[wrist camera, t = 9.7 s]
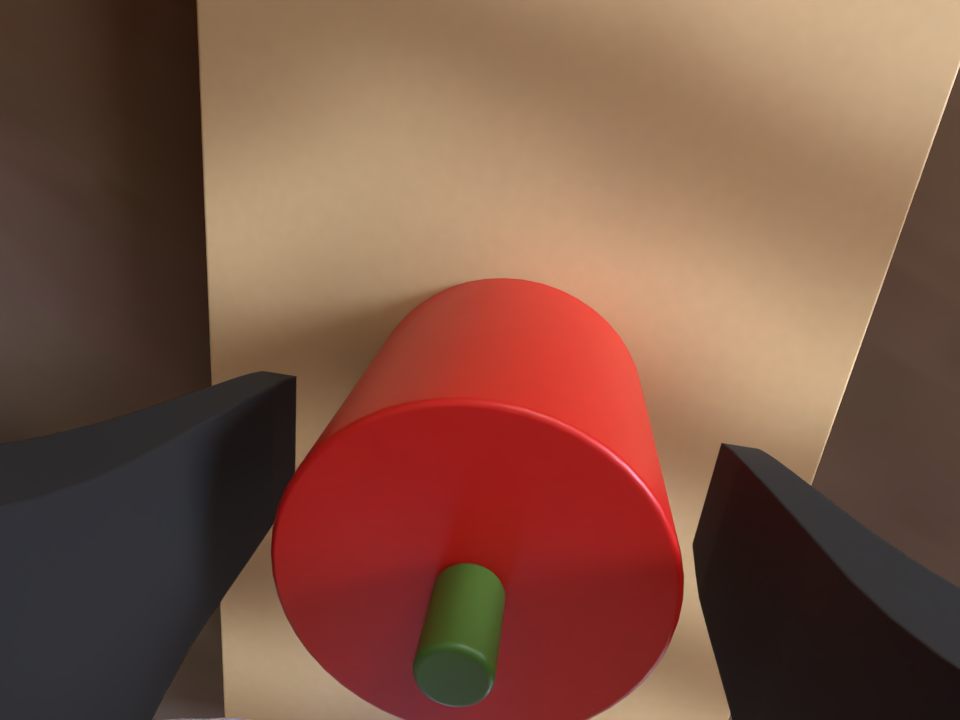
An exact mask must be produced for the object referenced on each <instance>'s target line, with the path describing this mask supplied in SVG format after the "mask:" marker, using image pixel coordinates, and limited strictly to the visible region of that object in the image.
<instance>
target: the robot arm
mask: <svg viewBox="0 0 960 720" xmlns="http://www.w3.org/2000/svg"><path fill="white" fill-rule="evenodd" d="M296 382H297V376H292V375H286V374H279V373H273V372H267V371H259V372H254V373H250V374H246V375H243V376H239V377H236V378H233V379H230V380H227V381H224V382H221V383H219V384H216V385H213V386H210V387H207V388H204V389H202V390H199V391H196V392H193V393H190V394H187V395H185V396H182V397H179V398H176V399H173V400H171V401H168V402H165V403H162V404H158V405H155V406H152V407H149V408H146V409H143V410H139V411H136V412H133V413H130V414H127V415H123V416H120V417H117V418H114V419H111V420H107V421H104V422H100V423H97V424H93V425H89V426H85V427H81V428H77V429H73V430H69V431H65V432H60V433H56V434H51V435H47V436H42V437H38V438H33V439H28V440H23V441H17V442H11V443H5V444H0V720H152V718H153V716H154V714H155V712H156V710H157V708H158V706H159V704H160V703H161V701H162V699H163V697H164V695H165V693H166V691H167V690H168V688H169V686H170V684H171V682H172V680H173V678H174V677H175V675H176V673H177V671H178V669H179V667H180V665H181V664H182V662H183V660H184V658H185V656H186V654H187V652H188V651H189V649H190V647H191V646H192V644H193V643H194V641H195V639H196V638H197V636H198V635H199V633H200V631H201V630H202V628H203V627H204V625H205V624H206V622H207V621H208V619H209V618H210V616H211V615H212V613H213V612H214V611H215V609H216V608H217V606H218V605H219V603H220V602H221V600H222V599H223V597H224V596H225V595H226V593H227V592H228V590H229V589H230V587H231V586H232V584H233V583H234V581H235V580H236V579H237V577H238V576H239V574H240V573H241V571H242V570H243V568H244V567H245V566H246V564H247V563H248V561H249V560H250V558H251V557H252V555H253V554H254V552H255V551H256V549H257V548H258V546H259V545H260V543H261V542H262V540H263V539H264V537H265V536H266V534H267V533H268V531H269V530H270V528H271V527H272V525H273V523H274V520H275V515H276V511H277V507H278V505H279V502H280V500H281V498H282V495H283V493H284V490H285V488H286V486H287V484H288V483H289V481H290V480H291V478H292V476H293V475H294V473H295V457H296ZM692 547H693V556H694V565H695V574H696V582H697V589H698V596H699V601H700V604H701V608H702V612H703V616H704V620H705V623H706V627H707V631H708V634H709V638H710V642H711V645H712V649H713V652H714V656H715V659H716V663H717V667H718V670H719V674H720V677H721V681H722V684H723V688H724V692H725V695H726V699H727V702H728V706H729V709H730V713H731V716H732V720H960V588H959V587H957V586H955V585H954V584H952V583H950V582H949V581H947V580H945V579H944V578H942V577H940V576H938V575H937V574H935V573H933V572H932V571H930V570H928V569H927V568H925V567H924V566H922V565H921V564H919V563H918V562H916V561H914V560H913V559H911V558H910V557H908V556H907V555H905V554H904V553H902V552H901V551H899V550H898V549H897V548H895V547H894V546H892V545H891V544H889V543H888V542H886V541H885V540H883V539H882V538H881V537H879V536H878V535H876V534H875V533H873V532H872V531H870V530H869V529H868V528H866V527H865V526H864V525H862V524H861V523H859V522H858V521H857V520H855V519H854V518H853V517H851V516H850V515H849V514H847V513H846V512H845V511H843V510H842V509H841V508H839V507H838V506H837V505H835V504H834V503H833V502H831V501H830V500H829V499H827V498H826V497H825V496H824V495H822V494H821V493H820V492H818V491H817V490H816V489H815V488H813V487H812V486H811V485H809V484H808V483H807V482H806V481H804V480H803V479H802V478H800V477H799V476H798V475H796V474H795V473H794V472H793V471H791V470H790V469H789V468H787V467H786V466H785V465H783V464H782V463H780V462H779V461H778V460H776V459H775V458H773V457H772V456H770V455H769V454H767V453H766V452H764V451H762V450H760V449H757V448H751V447H745V446H738V445H732V444H725V443H721V446H720V450H719V453H718V457H717V460H716V464H715V467H714V471H713V474H712V477H711V481H710V484H709V488H708V491H707V495H706V498H705V502H704V505H703V509H702V512H701V516H700V519H699V523H698V526H697V530H696V533H695V537H694V540H693V544H692ZM168 720H249V719H244V718H176V719H168Z"/></svg>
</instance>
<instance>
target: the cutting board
mask: <svg viewBox="0 0 960 720" xmlns="http://www.w3.org/2000/svg"><path fill="white" fill-rule="evenodd" d="M196 4H197V29H198V54H199V80H200V105H201V130H202V156H203V181H204V206H205V232H206V257H207V282H208V307H209V333H210V358H211V383H212V386H213V385H216V384H219V383H221V382H224V381H227V380H230V379H233V378H236V377H239V376H243V375H246V374H250V373H254V372H259V371H267V372H273V373H279V374H286V375H292V376H297V382H296V457H295V472H296V470H297V469H298V467H299V465H300V464H301V463H302V461H303V460H304V458H305V457H306V455H307V454H308V453H309V451H310V450H311V448H312V447H313V445H314V444H315V443H316V441H317V440H318V438H319V437H320V435H321V434H322V432H323V431H324V430H325V428H326V427H327V425H328V424H329V422H330V421H331V420H332V418H333V417H334V415H335V414H336V412H337V411H338V409H339V408H340V407H341V405H342V404H343V402H344V401H345V399H346V398H347V397H348V395H349V394H350V392H351V391H352V389H353V388H354V387H355V385H356V384H357V382H358V381H359V379H360V378H361V376H362V375H363V374H364V372H365V371H366V369H367V368H368V366H369V365H370V364H371V362H372V361H373V359H374V358H375V356H376V355H377V354H378V352H379V351H380V349H381V348H382V346H383V345H384V343H385V342H386V341H387V339H388V338H389V336H390V335H391V333H392V332H393V331H394V329H395V328H396V327H397V326H398V324H399V323H400V322H401V321H402V320H403V319H404V318H405V316H406V315H408V314H409V313H410V312H411V311H412V310H413V309H414V308H416V307H417V306H418V305H419V304H421V303H422V302H424V301H425V300H427V299H428V298H430V297H432V296H433V295H435V294H437V293H439V292H441V291H444V290H446V289H448V288H450V287H453V286H456V285H460V284H463V283H466V282H471V281H476V280H482V279H493V278H511V279H523V280H528V281H533V282H538V283H542V284H545V285H548V286H551V287H554V288H557V289H560V290H562V291H564V292H566V293H568V294H570V295H572V296H574V297H576V298H578V299H579V300H581V301H582V302H584V303H585V304H587V305H588V306H590V307H591V308H593V309H594V310H595V311H596V312H597V313H598V314H599V315H600V316H602V317H603V318H604V319H605V320H606V321H607V322H608V323H609V324H610V325H611V327H612V328H613V329H614V330H615V331H616V332H617V334H618V335H619V336H620V338H621V339H622V341H623V342H624V344H625V346H626V347H627V349H628V350H629V353H630V355H631V357H632V359H633V361H634V363H635V366H636V369H637V373H638V376H639V379H640V383H641V387H642V391H643V395H644V400H645V404H646V408H647V412H648V416H649V421H650V425H651V429H652V433H653V437H654V441H655V446H656V450H657V454H658V458H659V462H660V467H661V471H662V475H663V479H664V483H665V488H666V492H667V496H668V500H669V504H670V508H671V513H672V517H673V521H674V525H675V529H676V534H677V538H678V542H679V546H680V550H681V556H682V564H683V571H684V593H683V603H682V607H681V612H680V617H679V621H678V624H677V627H676V629H675V632H674V634H673V637H672V640H671V642H670V644H669V646H668V648H667V650H666V651H665V653H664V655H663V656H662V658H661V660H660V662H659V663H658V665H657V666H656V667H655V668H654V669H653V671H652V672H651V673H650V674H649V676H648V677H647V678H646V679H645V681H643V682H642V683H641V684H640V685H639V686H638V687H637V688H636V689H635V690H634V691H633V692H632V693H630V694H629V695H628V696H627V697H625V698H624V699H623V700H621V701H620V702H618V703H617V704H615V705H614V706H613V707H611V708H610V709H608V710H606V711H604V712H602V713H600V714H598V715H596V716H594V717H593V718H591V719H588V720H728V719H729V716H730V709H729V706H728V702H727V699H726V695H725V692H724V688H723V684H722V681H721V677H720V674H719V670H718V667H717V663H716V659H715V656H714V652H713V649H712V645H711V642H710V638H709V634H708V631H707V627H706V623H705V620H704V616H703V612H702V608H701V604H700V601H699V596H698V589H697V582H696V574H695V565H694V556H693V547H692V544H693V540H694V537H695V533H696V530H697V526H698V523H699V519H700V516H701V512H702V509H703V505H704V502H705V498H706V495H707V491H708V488H709V484H710V481H711V477H712V474H713V471H714V467H715V464H716V460H717V457H718V453H719V450H720V446H721V443H725V444H732V445H738V446H745V447H751V448H757V449H760V450H762V451H764V452H766V453H767V454H769V455H770V456H772V457H773V458H775V459H776V460H778V461H779V462H780V463H782V464H783V465H785V466H786V467H787V468H789V469H790V470H791V471H793V472H794V473H795V474H796V475H798V476H799V477H800V478H802V479H803V480H804V481H806V482H807V483H808V484H809V485H811V484H812V482H813V479H814V476H815V473H816V470H817V467H818V465H819V462H820V459H821V456H822V453H823V451H824V448H825V445H826V442H827V439H828V436H829V434H830V431H831V428H832V425H833V422H834V419H835V417H836V414H837V411H838V408H839V405H840V403H841V400H842V397H843V394H844V391H845V388H846V386H847V383H848V380H849V377H850V374H851V371H852V369H853V366H854V363H855V360H856V357H857V355H858V352H859V349H860V346H861V343H862V340H863V338H864V335H865V332H866V329H867V326H868V324H869V321H870V318H871V315H872V312H873V309H874V307H875V304H876V301H877V298H878V295H879V292H880V290H881V287H882V284H883V281H884V278H885V276H886V273H887V270H888V267H889V264H890V261H891V259H892V256H893V253H894V250H895V247H896V245H897V242H898V239H899V236H900V233H901V230H902V228H903V225H904V222H905V219H906V216H907V213H908V211H909V208H910V205H911V202H912V199H913V197H914V194H915V191H916V188H917V185H918V182H919V180H920V177H921V174H922V171H923V168H924V166H925V163H926V160H927V157H928V154H929V151H930V149H931V146H932V143H933V140H934V137H935V134H936V132H937V129H938V126H939V123H940V120H941V118H942V115H943V112H944V109H945V106H946V103H947V101H948V98H949V95H950V92H951V89H952V87H953V84H954V81H955V78H956V75H957V72H958V70H959V67H960V0H196ZM273 524H274V523H273ZM272 528H273V525H272V527H271V528H270V530H269V531H268V533H267V534H266V536H265V537H264V539H263V540H262V542H261V543H260V545H259V546H258V548H257V549H256V551H255V552H254V554H253V555H252V557H251V558H250V560H249V561H248V563H247V564H246V566H245V567H244V568H243V570H242V571H241V573H240V574H239V576H238V577H237V579H236V580H235V581H234V583H233V584H232V586H231V587H230V589H229V590H228V592H227V593H226V595H225V596H224V597H223V599H222V600H221V602H220V611H221V637H222V662H223V687H224V712H225V718H244V719H249V720H402V719H400V718H398V717H395V716H393V715H391V714H389V713H386V712H384V711H382V710H380V709H378V708H377V707H375V706H373V705H371V704H370V703H368V702H366V701H364V700H363V699H361V698H359V697H358V696H357V695H355V694H354V693H352V692H351V691H350V690H348V689H347V688H345V687H344V686H342V685H341V684H340V683H339V682H338V681H337V680H336V679H334V678H333V677H332V676H331V675H330V674H329V673H328V672H326V671H325V670H324V669H323V668H322V667H321V665H320V664H319V663H318V662H317V661H316V660H315V659H314V658H313V657H312V656H311V655H310V653H309V652H308V651H307V649H306V648H305V647H304V645H303V644H302V643H301V641H300V640H299V638H298V637H297V636H296V634H295V632H294V630H293V629H292V627H291V625H290V623H289V621H288V619H287V618H286V616H285V613H284V611H283V608H282V606H281V603H280V601H279V598H278V595H277V591H276V587H275V583H274V578H273V573H272V561H271V541H272Z"/></svg>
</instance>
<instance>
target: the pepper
mask: <svg viewBox="0 0 960 720" xmlns="http://www.w3.org/2000/svg"><path fill="white" fill-rule="evenodd" d="M271 561H272V573H273V578H274V583H275V587H276V591H277V595H278V598H279V601H280V603H281V606H282V608H283V611H284V613H285V616H286V618H287V619H288V621H289V623H290V625H291V627H292V629H293V630H294V632H295V634H296V636H297V637H298V638H299V640H300V641H301V643H302V644H303V645H304V647H305V648H306V649H307V651H308V652H309V653H310V655H311V656H312V657H313V658H314V659H315V660H316V661H317V662H318V663H319V664H320V665H321V667H322V668H323V669H324V670H325V671H326V672H328V673H329V674H330V675H331V676H332V677H333V678H334V679H336V680H337V681H338V682H339V683H340V684H341V685H342V686H344V687H345V688H347V689H348V690H350V691H351V692H352V693H354V694H355V695H357V696H358V697H359V698H361V699H363V700H364V701H366V702H368V703H370V704H371V705H373V706H375V707H377V708H378V709H380V710H382V711H384V712H386V713H389V714H391V715H393V716H395V717H398V718H400V719H402V720H588V719H591V718H593V717H594V716H596V715H598V714H600V713H602V712H604V711H606V710H608V709H610V708H611V707H613V706H614V705H615V704H617V703H618V702H620V701H621V700H623V699H624V698H625V697H627V696H628V695H629V694H630V693H632V692H633V691H634V690H635V689H636V688H637V687H638V686H639V685H640V684H641V683H642V682H643V681H645V679H646V678H647V677H648V676H649V674H650V673H651V672H652V671H653V669H654V668H655V667H656V666H657V665H658V663H659V662H660V660H661V658H662V656H663V655H664V653H665V651H666V650H667V648H668V646H669V644H670V642H671V640H672V637H673V634H674V632H675V629H676V627H677V624H678V621H679V617H680V612H681V607H682V603H683V593H684V571H683V564H682V556H681V550H680V546H679V542H678V538H677V534H676V529H675V525H674V521H673V517H672V513H671V508H670V504H669V500H668V496H667V492H666V488H665V483H664V479H663V475H662V471H661V467H660V462H659V458H658V454H657V450H656V446H655V441H654V437H653V433H652V429H651V425H650V421H649V416H648V412H647V408H646V404H645V400H644V395H643V391H642V387H641V383H640V379H639V376H638V373H637V369H636V366H635V363H634V361H633V359H632V357H631V355H630V353H629V350H628V349H627V347H626V346H625V344H624V342H623V341H622V339H621V338H620V336H619V335H618V334H617V332H616V331H615V330H614V329H613V328H612V327H611V325H610V324H609V323H608V322H607V321H606V320H605V319H604V318H603V317H602V316H600V315H599V314H598V313H597V312H596V311H595V310H594V309H593V308H591V307H590V306H588V305H587V304H585V303H584V302H582V301H581V300H579V299H578V298H576V297H574V296H572V295H570V294H568V293H566V292H564V291H562V290H560V289H557V288H554V287H551V286H548V285H545V284H542V283H538V282H533V281H528V280H523V279H511V278H493V279H482V280H476V281H471V282H466V283H463V284H460V285H456V286H453V287H450V288H448V289H446V290H444V291H441V292H439V293H437V294H435V295H433V296H432V297H430V298H428V299H427V300H425V301H424V302H422V303H421V304H419V305H418V306H417V307H416V308H414V309H413V310H412V311H411V312H410V313H409V314H408V315H406V316H405V318H404V319H403V320H402V321H401V322H400V323H399V324H398V326H397V327H396V328H395V329H394V331H393V332H392V333H391V335H390V336H389V338H388V339H387V341H386V342H385V343H384V345H383V346H382V348H381V349H380V351H379V352H378V354H377V355H376V356H375V358H374V359H373V361H372V362H371V364H370V365H369V366H368V368H367V369H366V371H365V372H364V374H363V375H362V376H361V378H360V379H359V381H358V382H357V384H356V385H355V387H354V388H353V389H352V391H351V392H350V394H349V395H348V397H347V398H346V399H345V401H344V402H343V404H342V405H341V407H340V408H339V409H338V411H337V412H336V414H335V415H334V417H333V418H332V420H331V421H330V422H329V424H328V425H327V427H326V428H325V430H324V431H323V432H322V434H321V435H320V437H319V438H318V440H317V441H316V443H315V444H314V445H313V447H312V448H311V450H310V451H309V453H308V454H307V455H306V457H305V458H304V460H303V461H302V463H301V464H300V465H299V467H298V469H297V470H296V472H295V473H294V475H293V476H292V478H291V480H290V481H289V483H288V484H287V486H286V488H285V490H284V493H283V495H282V498H281V500H280V502H279V505H278V507H277V511H276V515H275V520H274V524H273V528H272V541H271Z"/></svg>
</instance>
